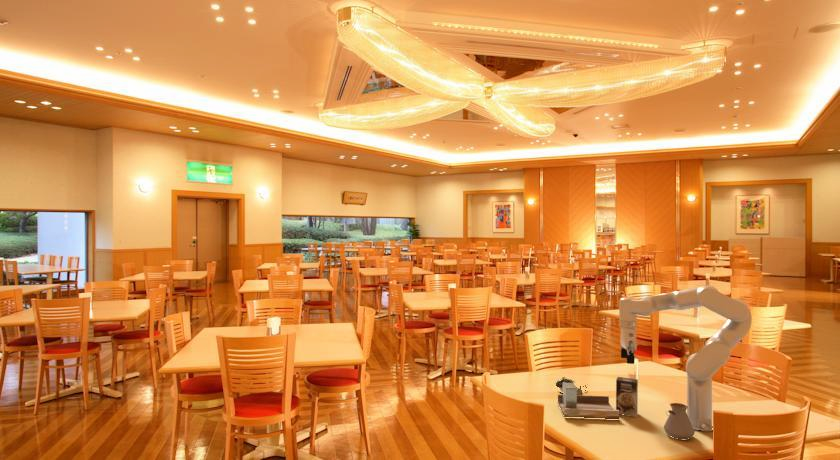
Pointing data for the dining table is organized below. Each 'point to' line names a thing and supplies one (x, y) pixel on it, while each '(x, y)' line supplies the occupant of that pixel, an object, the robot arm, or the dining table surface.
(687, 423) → the coffee pot
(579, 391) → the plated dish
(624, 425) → the dining table surface
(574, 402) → the tea tin
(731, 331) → the robot arm
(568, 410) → the flat grey tray
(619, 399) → the coffee box
